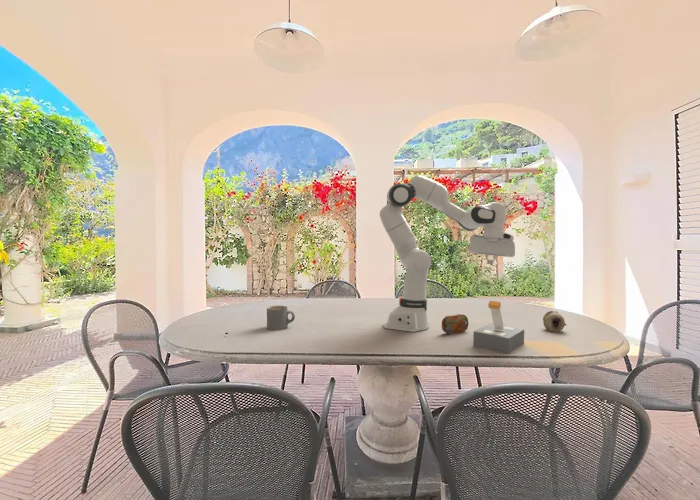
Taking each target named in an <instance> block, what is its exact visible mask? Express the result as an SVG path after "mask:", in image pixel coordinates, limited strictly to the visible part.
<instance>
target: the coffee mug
mask: <svg viewBox="0 0 700 500" xmlns="http://www.w3.org/2000/svg"><path fill="white" fill-rule="evenodd" d="M289 314H291V318H289ZM295 316H296V314H295V312H294V311H293V310H290V309H289V310H288V306H287V305H272V306H271V305H270V306H268V307H266V330H269V331H282V330H286V329H288V326H289V324H291V323H293V322H294V321H295Z"/></svg>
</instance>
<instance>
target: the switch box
mask: <svg viewBox="0 0 700 500" xmlns="http://www.w3.org/2000/svg"><path fill="white" fill-rule="evenodd" d="M503 326H504V329H503V330H498V329H495V328H494V323H493V322H492V323H489V324H486V325H484V326H482V327H479V328H478V329H476V330H473V337H472V338H473V339H472V341H473V342H472V343H473V346H474V347H477V348H482V349H486V350H491V351H494V352H499V353H502V354H503V353H505V354H510V353H512V352H513V351H515V350H516V349H518V348H519V347H521V346H522V345H524V344H525V329H523V328H520V327H513V326H508V325H503Z"/></svg>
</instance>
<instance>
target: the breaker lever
mask: <svg viewBox="0 0 700 500" xmlns="http://www.w3.org/2000/svg"><path fill="white" fill-rule="evenodd" d="M487 306H488V308H489V309H490V313H491V317H492V324H494V328H495V329H498V330H503V329H504V326H505V325H504V322H503V316H502V312H501V307H502V304H501V301H495V300H490V301H489V302H488V304H487Z"/></svg>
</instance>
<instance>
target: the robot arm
mask: <svg viewBox="0 0 700 500" xmlns="http://www.w3.org/2000/svg"><path fill="white" fill-rule="evenodd" d="M386 194H387V195H386V205H384V206H383V207H382V208H381V209H380V211H379V217H380V221H381V223H382V225H383V228H384V230H385V232H386V234H387V236H388V237H389V239H390V241H391V243H392V245H393V246H394V249H395V251H396V253H397V256H398V257H399V261H400V263H401V264H402V266H403V267H404V268H405V269H406V271H405V277H404V281H403V297H400V298H399V300H398V301H399V303H398V306H397V307H396V308H394V309H393V310H391V311H390V312H389V315H388V317H387V320H386V321H383V327H384V329H390V330H397V331H403V332H404V331H405V332H413V333H415V332H419V331H426V330H428V329H430V325H429V322H428V321H429V320H428V315H427V313H428V312H427V311H428V299H427V281H428V276H429V271H430V267H431V266H432V258H431V255H430V254H429V253H428V252H427V251H425V250H424V249H420V248H419V247H418V243H417V241H416V238H415V234H414V232H413V230H412V229H411V226H410V225H409V223H408V221H407V219H406V218H405V216H404V213H403V207H405V206H407V205H408V204H409V203H411V201H412V200H413V199H417V200H420V201H422V202H424V203H425V204H427V205H429V206H431V207H433V208H435V209H436V210H438V211H439V212H441V214H444V215H446V216H447V217H449V218H450V219H452V220H453V221H455V222H456V223H458V225H459V226H460V227H461V228H462V229H463V230H465V231H468V232H469V231H470V232H472V231H473V232H474V231H475V230H476V229H478V228H479V227H484V229H483V234H473V235H471V236H470V237H469V243H470V244H469V248H468V251H469V254H477V255H484V257H485V259H486V265H492V266H494V262H495V261H496V259H497V257H506V258H514V257H515V256H516V245H515V244H516V243H515V241H514V235H512V234H510V233H507V232H505V227H504V226H505V223H506V218H507V217H506V216H507V210H506V209H507V208H506V207H505V205H504V204H503V203H501V202H499V201H491V202H489V203H487V204H482V205H476V206H473V207H472V208H470V209H468V210H464V209H462V208H461V207H458V206H457V205H455V204H453V203H452V202H451V201H450V200H449V190H448V189H447V187H446V186H444V185H442V184H441V183H440V182H438V181H436V180H434V179H431V178H429V177H427V176H423V175H421V174H419V175H418V174H417V175H414V176H413V177H411V179H410V180H409V181H408V182H407V183H406V182H404V183H396V184H393V185H392V186H391V187H390V188H389V189H388V191H387V193H386ZM489 256H493V259H489Z"/></svg>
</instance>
